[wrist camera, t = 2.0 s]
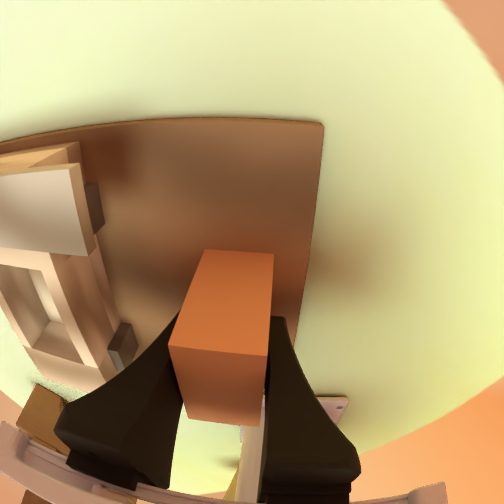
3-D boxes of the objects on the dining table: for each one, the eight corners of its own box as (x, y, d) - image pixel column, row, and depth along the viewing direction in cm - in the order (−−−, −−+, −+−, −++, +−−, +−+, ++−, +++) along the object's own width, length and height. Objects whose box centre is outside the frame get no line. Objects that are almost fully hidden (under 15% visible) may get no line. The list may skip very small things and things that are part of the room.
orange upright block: (267, 333, 16) (259, 427, 11) (211, 328, 16) (188, 418, 12) (274, 253, 13) (267, 355, 9) (204, 249, 14) (167, 344, 9)
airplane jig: (286, 369, 19) (284, 439, 15) (37, 327, 20) (8, 372, 16) (321, 123, 11) (346, 155, 7) (-25, 149, 12) (-83, 182, 8)
